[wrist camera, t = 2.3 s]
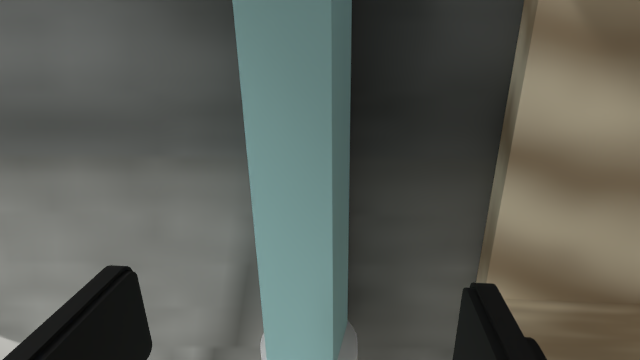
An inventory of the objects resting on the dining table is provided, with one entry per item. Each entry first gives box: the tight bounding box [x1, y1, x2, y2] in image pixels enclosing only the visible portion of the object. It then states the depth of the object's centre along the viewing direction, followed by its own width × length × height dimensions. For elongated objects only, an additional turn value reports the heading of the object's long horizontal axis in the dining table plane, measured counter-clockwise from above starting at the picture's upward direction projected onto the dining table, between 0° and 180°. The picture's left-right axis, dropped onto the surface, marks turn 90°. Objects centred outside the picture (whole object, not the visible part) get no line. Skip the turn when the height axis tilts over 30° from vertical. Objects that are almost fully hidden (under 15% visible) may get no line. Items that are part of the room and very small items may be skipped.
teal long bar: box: [232, 0, 358, 360], centre depth 19 cm, size 25×6×6 cm, turn 1°
